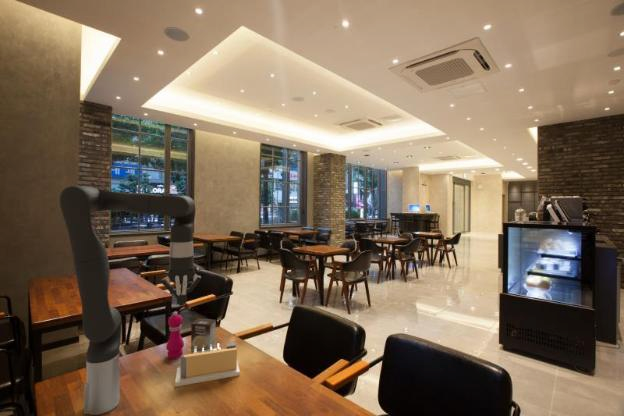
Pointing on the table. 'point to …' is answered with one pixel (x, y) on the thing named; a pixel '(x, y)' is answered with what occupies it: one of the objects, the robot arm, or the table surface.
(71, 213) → the robot arm
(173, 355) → the pepper mill
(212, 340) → the coffee box
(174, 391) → the table surface
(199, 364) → the leaning tan board
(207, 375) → the white grey slotted rack
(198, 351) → the white toothed block
